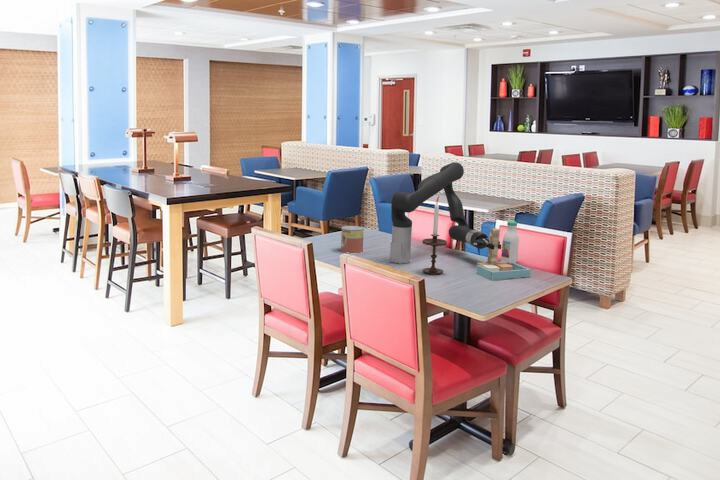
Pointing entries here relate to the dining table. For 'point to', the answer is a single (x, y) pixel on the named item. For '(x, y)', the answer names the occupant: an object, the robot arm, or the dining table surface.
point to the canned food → (352, 239)
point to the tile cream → (491, 267)
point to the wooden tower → (493, 253)
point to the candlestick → (434, 244)
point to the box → (505, 272)
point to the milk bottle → (510, 243)
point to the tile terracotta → (504, 267)
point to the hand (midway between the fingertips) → (497, 247)
